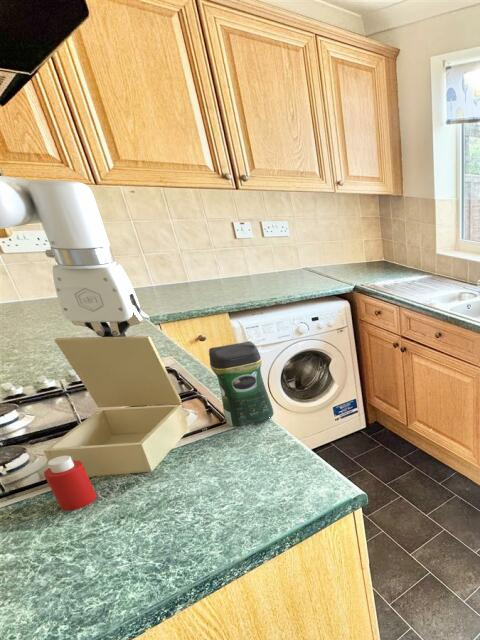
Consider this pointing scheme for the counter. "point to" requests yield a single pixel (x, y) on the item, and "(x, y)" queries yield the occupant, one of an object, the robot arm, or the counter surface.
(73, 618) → the counter surface
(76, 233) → the robot arm
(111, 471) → the bin
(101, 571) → the counter surface
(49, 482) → the ketchup bottle
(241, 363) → the coffee jar
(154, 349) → the bin lid
